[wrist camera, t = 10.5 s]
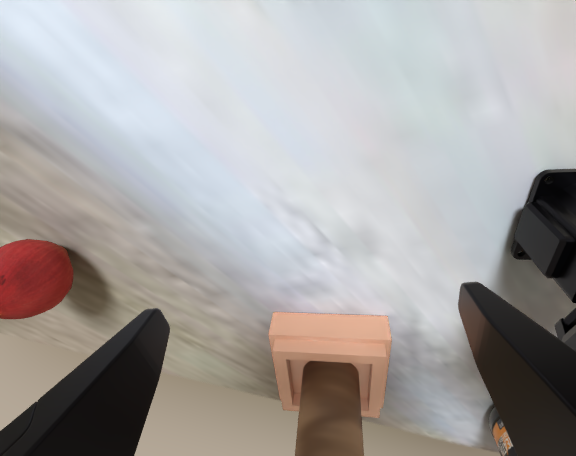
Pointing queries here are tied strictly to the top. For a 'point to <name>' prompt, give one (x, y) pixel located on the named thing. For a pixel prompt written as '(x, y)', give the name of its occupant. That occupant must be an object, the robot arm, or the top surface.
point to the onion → (32, 277)
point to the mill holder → (331, 352)
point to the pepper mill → (329, 411)
